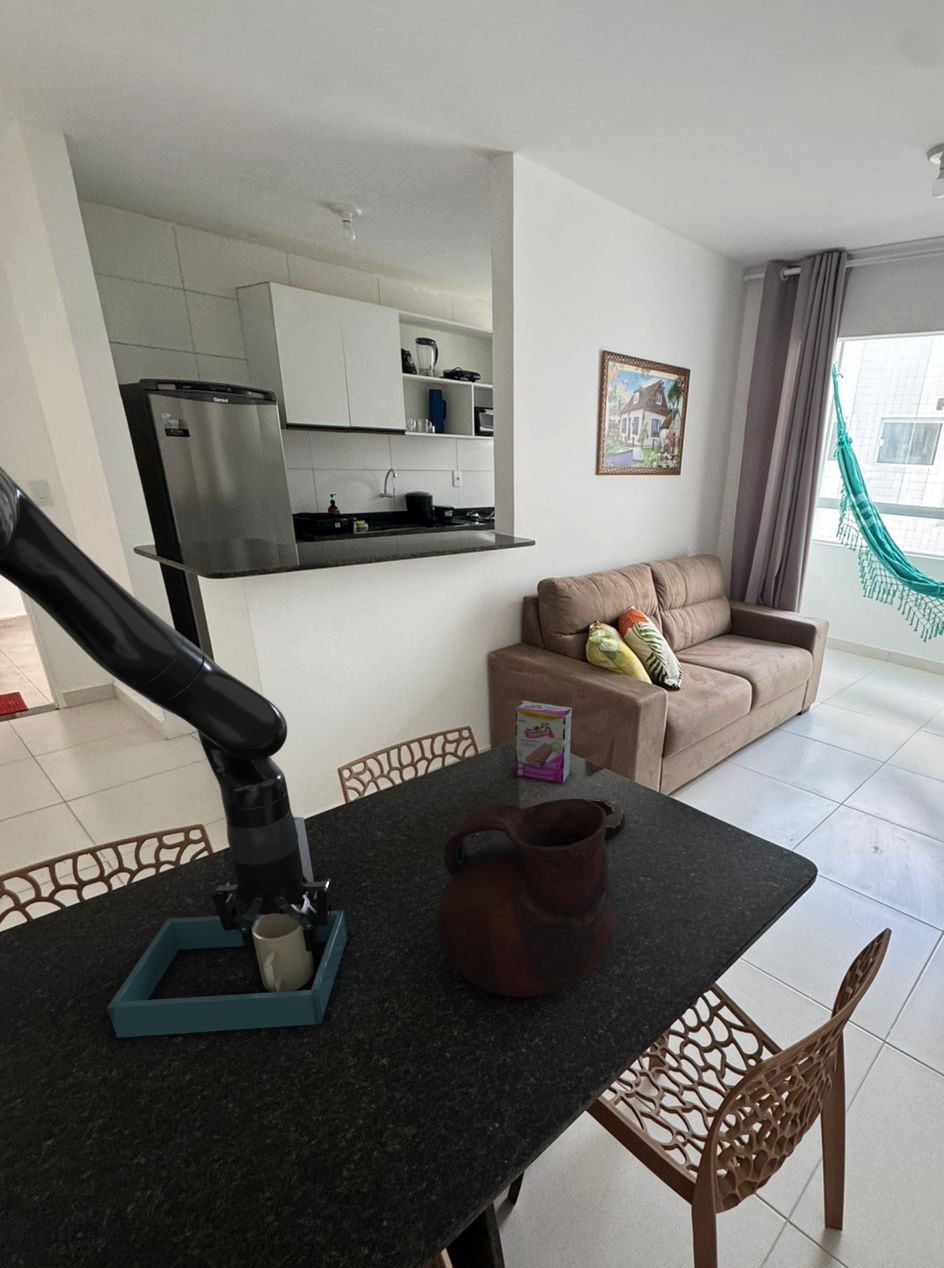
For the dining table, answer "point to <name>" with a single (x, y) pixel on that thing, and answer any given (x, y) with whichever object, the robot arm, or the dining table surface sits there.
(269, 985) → the mug
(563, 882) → the jug
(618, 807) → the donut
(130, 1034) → the rectangular frame
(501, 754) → the dining table surface
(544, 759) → the candy bar box
